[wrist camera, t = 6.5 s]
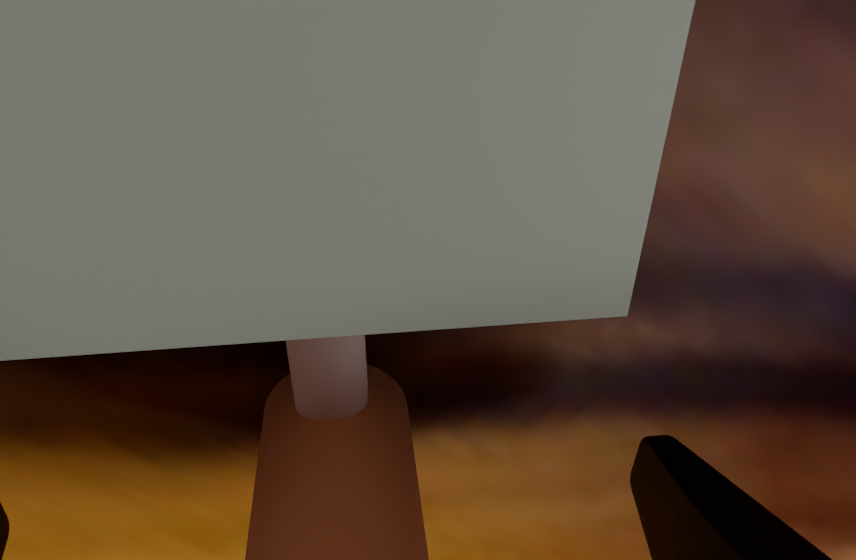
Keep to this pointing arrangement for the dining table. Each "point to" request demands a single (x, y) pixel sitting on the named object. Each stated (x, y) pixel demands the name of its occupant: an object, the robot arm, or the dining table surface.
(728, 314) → the dining table surface
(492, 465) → the dining table surface
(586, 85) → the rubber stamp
